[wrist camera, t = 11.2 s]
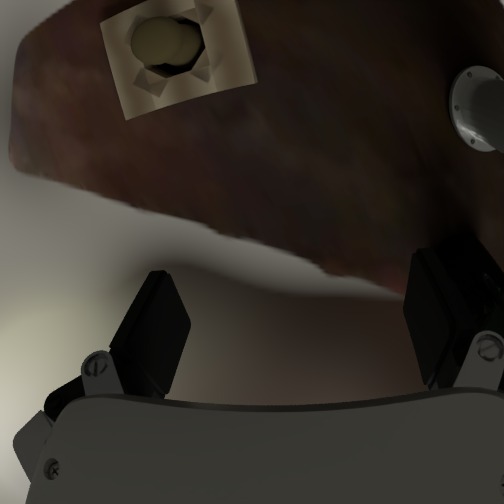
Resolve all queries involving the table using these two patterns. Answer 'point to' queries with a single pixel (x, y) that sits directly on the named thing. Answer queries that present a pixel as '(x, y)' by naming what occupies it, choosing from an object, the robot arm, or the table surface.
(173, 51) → the cork
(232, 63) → the jig
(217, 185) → the table surface
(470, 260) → the wine bottle
